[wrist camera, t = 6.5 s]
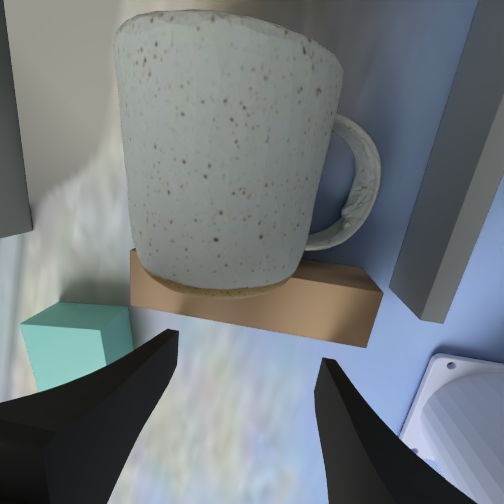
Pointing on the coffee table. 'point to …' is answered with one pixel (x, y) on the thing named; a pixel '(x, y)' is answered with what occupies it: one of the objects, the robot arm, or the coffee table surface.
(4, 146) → the frame
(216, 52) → the ceramic mug
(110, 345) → the turquoise cube box
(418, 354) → the coffee table surface
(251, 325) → the brown wooden block
